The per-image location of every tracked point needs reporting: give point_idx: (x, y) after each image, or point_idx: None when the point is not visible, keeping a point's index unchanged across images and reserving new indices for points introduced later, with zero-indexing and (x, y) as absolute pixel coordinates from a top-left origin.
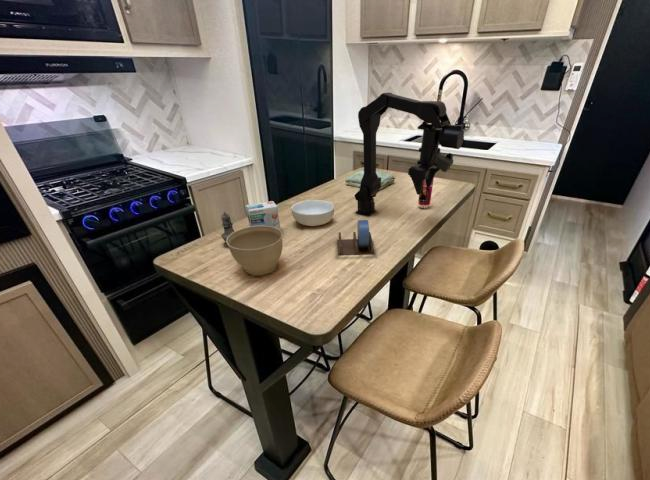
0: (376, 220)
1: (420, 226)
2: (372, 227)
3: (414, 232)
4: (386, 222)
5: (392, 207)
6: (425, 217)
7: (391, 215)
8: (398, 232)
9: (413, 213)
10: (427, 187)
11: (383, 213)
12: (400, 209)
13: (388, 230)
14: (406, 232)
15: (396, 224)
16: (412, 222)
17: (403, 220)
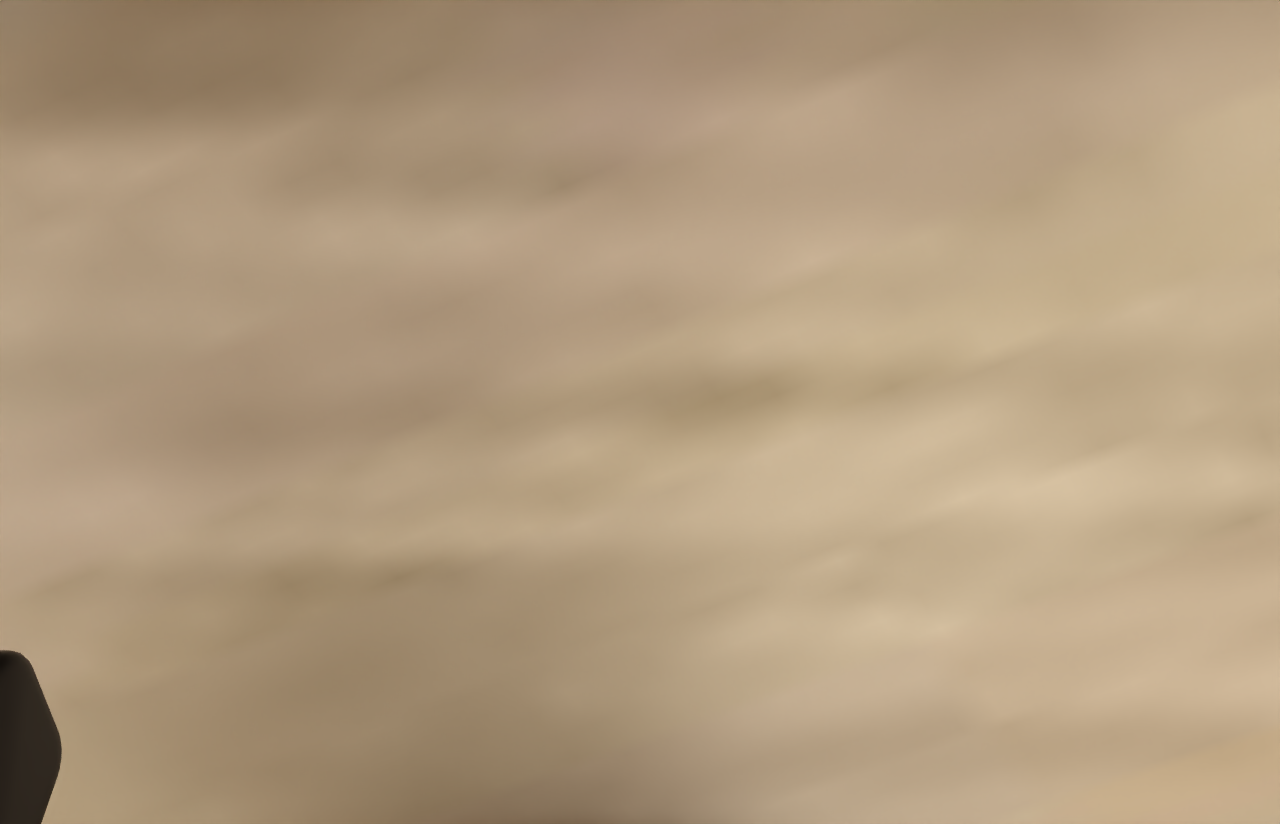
0: (837, 770)
1: (661, 41)
2: (1146, 716)
3: (1064, 19)
4: (834, 636)
5: (175, 789)
6: (113, 154)
7: (497, 685)
8: (1197, 305)
9: (124, 438)
10: (47, 725)
11: (504, 796)
12: (146, 674)
13: (1171, 485)
14: (1135, 172)
15: (830, 480)
16: (558, 278)
17: (574, 454)
